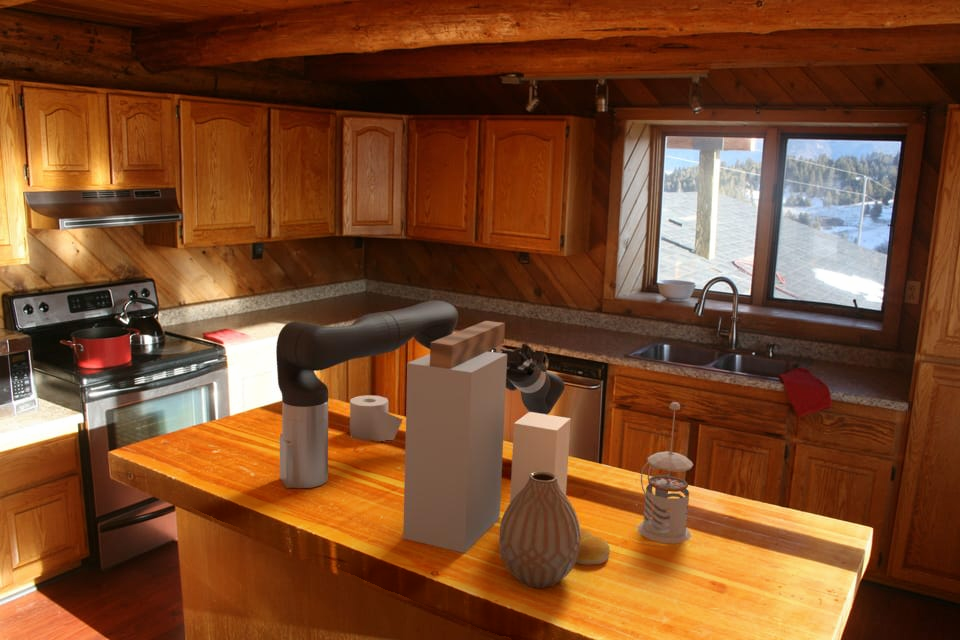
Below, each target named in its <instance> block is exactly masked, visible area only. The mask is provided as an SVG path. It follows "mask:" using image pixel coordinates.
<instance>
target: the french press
mask: <svg viewBox="0 0 960 640" xmlns="http://www.w3.org/2000/svg"><path fill="white" fill-rule="evenodd" d="M669 409H671V410H672V411H673V418H672V430H671V439H670V442H671V443H670V451H659V452H656V453H653V454H651V455H650V456H648V457H647V462H646V463H645V464H643V467H642V469H641V472H640V474H641V475H640V484H641V488H642V492H643V494H644V496H645V497H644V498H645V501H644V510H643V511H644V513H643V521H642V522H641V523H640V524H638V526H637V530H638V531H637V532H638V533H639V534H641V536H643V537H645V538H647V539H649V541H654V542H658V543H662V544H663V543H664V544H680V543H681V544H682V543H684V542H686V541H687V542H688V541H689V540H690V538H691V537H692V535H691V531H690V530H689V529H688V528H687V524H688V521H687V519H688V512H689V509H688V507H689V502H690V491H689V490H688V489H687V488H688V487H689V484H688V482H687V481H686V480H685V479H683V478H680V477H677V476H673V475H672V476H671V475H670V473H671V472H676V473H677V472H679V473H680V472H686V471H689V470H691V469H692V467H693V466H694V464H693V462H692V461H691V460H690V459H689V458H688V457H687V456H685V455H683V454H681V453H678V452H673V441H674V440H673V439H674V429H675V420H676V419H675V417H676V411H680V409H681V405H680V403H679V402H677V401H676V402H675V401H672V402H671V403H670V405H669ZM648 464H650V466H649V468H648V471H647V472H648V473H647V482H648V483H647V484H648V485H647V486H646V487H645V488H644V485H643V472H644V469H645V468H646V466H647V465H648ZM651 469H652V470H657V469H659V470H662V471H667V472H668V474H667V475H665V474H664V475H663V474H660V475H658V474H657V475H653V476H651V477H650V473H651ZM653 488H655V489H654V491H655V492H653ZM645 489H646V490H645ZM669 492H671V493H669ZM677 492H680V493H677ZM681 493H682V494H683V495H684V496H683V495H682V494H681ZM672 497H675V498H672ZM652 503H653V505H652ZM651 509H652V511H651ZM669 510H670V511H669ZM667 511H668V512H667ZM651 516H652V517H651Z"/></svg>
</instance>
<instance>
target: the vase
mask: <svg viewBox="0 0 960 640" xmlns="http://www.w3.org/2000/svg"><path fill="white" fill-rule="evenodd" d="M500 521H501V522H500V525H499V534H498V546H499V547H498V548H499V551H500V555H501V558H502V561H503V564H504V565H505V567H506V568H507V570H508V571H509V573H510V574H511V575H512V577H514V578H515V579H516V580H517V581H519V582H520V583H521V584H523V585H525V586H527V587H529V588H530V587H532V588H535V589H537V588H538V589H541V588H542V589H543V588H549V587H552V586H555V585H557V584H558V583H559V582H560V581H562V580H564V579H565V578H566V577H567V576H568V575H569V573H570V572H571V571H572V570H573V569H574V567H575V565H576V564H577V563H576V561H577V558H578V555H579V551H580V543H581V532H580V529H581V527H580V522H579V519H578V516H577V513H576V511H575V509H574V507H573V505H572V504H571V502H570V500H569V499H568V497H567V495H566V496H565V494H564V493H563V492H562V490H561V489H560V487H559V485H558V482H557V476H556V475H554V474H552V473H549V472H543V471H539V472H533V473H531V474H530V475H529V480H528V482H527V484H526V485H525V487H524V488H523V489H522V490H521V491H520V492H519V493H518V494H517V495H516V496H515V497H514V499H513V500H512V501H511V503H510V502H509V503H508V505H507V507H506V509H505V511H504V513H503V515H502V518H501V520H500Z"/></svg>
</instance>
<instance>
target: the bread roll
mask: <svg viewBox="0 0 960 640" xmlns="http://www.w3.org/2000/svg"><path fill="white" fill-rule="evenodd" d="M580 532H581V543H580V551H579V555H578V558H577V561H576V563H575V564H579V565H584V566H587V565H588V566H589V565H590V566H591V565H593V566H594V565H600V564H603V563H605V562H606V561H607V560H608V558H609V557H610V553H611V549H610V545H609V542H607V540H606V539H605V538H604V537H601V536H595V535H594V534H593V533H592V532H590V531H589V530H587V529H585V528H580Z"/></svg>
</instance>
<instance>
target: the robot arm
mask: <svg viewBox="0 0 960 640" xmlns="http://www.w3.org/2000/svg"><path fill="white" fill-rule="evenodd" d="M458 320H459V312H458V310H457V308H456V307H455V306H454V305H453V304H451V303H449V302H446V301H443V300H427V301H424V302H423V301H422V302H421V303H417V304H415V305H412V306H407V307H404V308H400V309H395V310H388V311H380V312H374V313H367V314H365V315H362V316H360V317H357V319H355V320H354V321H353V323H352V324H350V325H345V326H344V325H343V326H342V325H341V326H327V325H321V324H316V323H310V322H305V321H298V320H297V321H296V320H295V321H294V320H293V321H289V322H288V323H286V324H285V325H283V327H282V328H281V329H280V330H279V331H280V332H279V334H278V336H277V341H276V347H275V348H276V349H275V350H276V351H275V352H276V356H275V357H276V370H277V371H276V372H277V385H278V389H279V391H280V393H281V402H282V404H281V405H282V409H281V411H282V412H281V413H282V417H281V418H282V421H281V422H282V423H281V424H282V428H281V429H282V430H281V431H282V433H280V435H279V479H280V480H281V482H282V483H283V485H284V486H285V488H287V489H290V488H296V489H311V488H317V487H319V486H322V485H324V484H326V483H328V481H329V388H328V386H327V384H325V383H324V382H323V381H322V380H320V378H319V377H318V376H317V374H316V372H318V371H323V370H326V369H329V368H332V367H334V366H338V365H340V364H343V363H346V362H347V361H351V360H355V359H362V358H363V359H364V358H367V357H371V356H372V357H373V356H379V355H383V354H384V355H385V354H387V353H388V354H389V353H392V352H394V351H397V350H399V349H400V348H401V347H403V346H404V345H406V344H408V342H410V340H411V339H413V338H414V340H415V341H416V342H417V343H418V344H420V345H421V346H423V347H425V349H427V350H430V342H433V341H435V340H438V339H440V338H443V337H446V336H448V335H451V334H453V333H454V331H455V329H456V326H457V324H458ZM488 352H495V353H503V354H507V369H506V389H507V390H509V391H516V390H519V391H520V396H521V401H522V403H523V406H524V407H525V409H526V410H527V411H528V412H534V413H540V414H546V415H550V413H551V411H553V408H554V407H555V405H556V404H557V402H558V401H559V399H560V397H561V396H562V394H563V393H564V391H565V389H566V384H565V382H564V380H563V379H562V377H560V376H559V374H557V373H554V372H550V371H548V367H549V362H550V360H549V359H550V358H548V356H547V354H546V353H545V351H542V350H541V351H538V352H537V351H536V350H535V349H534V348H532V347H531V346H529V345H528V343H522V344H521V348H515V349H511V348H509V349H508V348H506V347H504V346H501V345H499V346H497V347H495V348H493V349H491V350H489V351H488ZM315 371H316V372H315Z"/></svg>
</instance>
